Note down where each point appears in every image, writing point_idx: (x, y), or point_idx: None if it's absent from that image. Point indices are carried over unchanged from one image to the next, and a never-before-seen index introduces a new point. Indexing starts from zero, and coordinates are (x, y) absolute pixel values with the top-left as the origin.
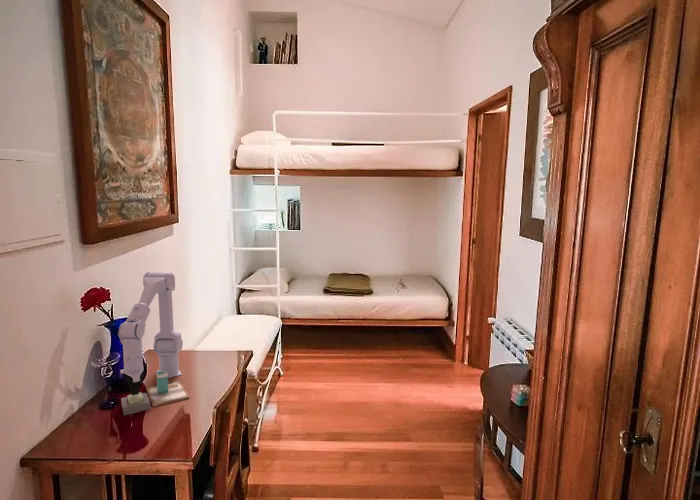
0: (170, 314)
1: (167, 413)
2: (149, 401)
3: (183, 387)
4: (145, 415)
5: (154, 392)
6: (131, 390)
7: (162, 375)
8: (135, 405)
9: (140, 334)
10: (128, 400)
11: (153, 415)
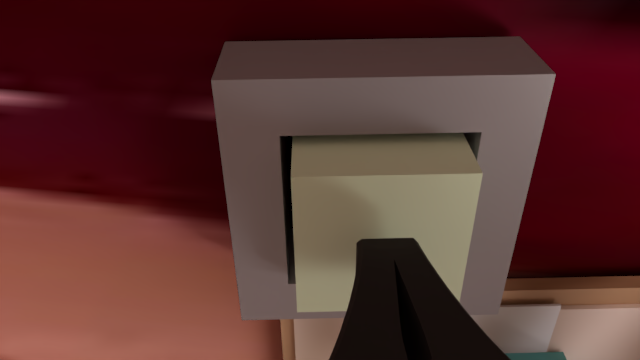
0: None
1: (117, 346)
2: (255, 318)
3: None
4: (149, 217)
5: (538, 333)
6: (353, 298)
7: None
8: (227, 203)
9: None
10: (333, 166)
11: (121, 268)
